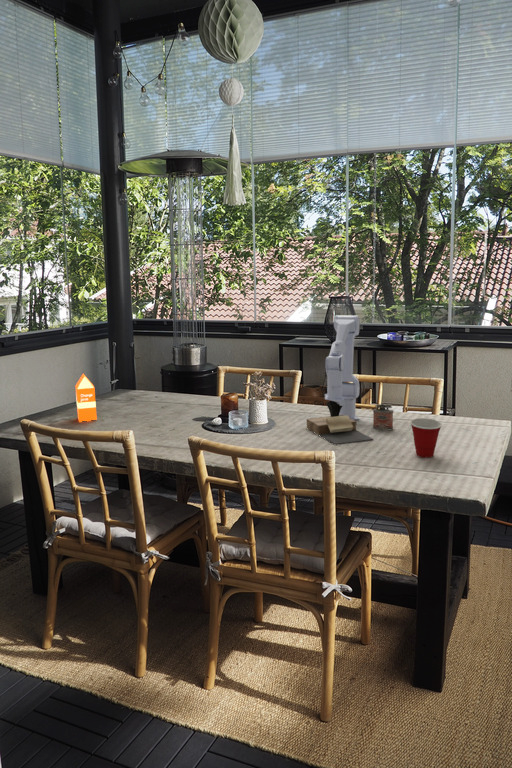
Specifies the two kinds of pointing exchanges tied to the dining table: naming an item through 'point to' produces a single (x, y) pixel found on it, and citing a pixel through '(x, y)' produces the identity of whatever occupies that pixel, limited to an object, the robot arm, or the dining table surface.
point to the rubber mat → (346, 437)
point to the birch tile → (339, 423)
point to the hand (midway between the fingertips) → (334, 419)
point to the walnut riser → (323, 425)
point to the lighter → (383, 417)
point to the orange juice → (85, 400)
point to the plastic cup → (425, 435)
